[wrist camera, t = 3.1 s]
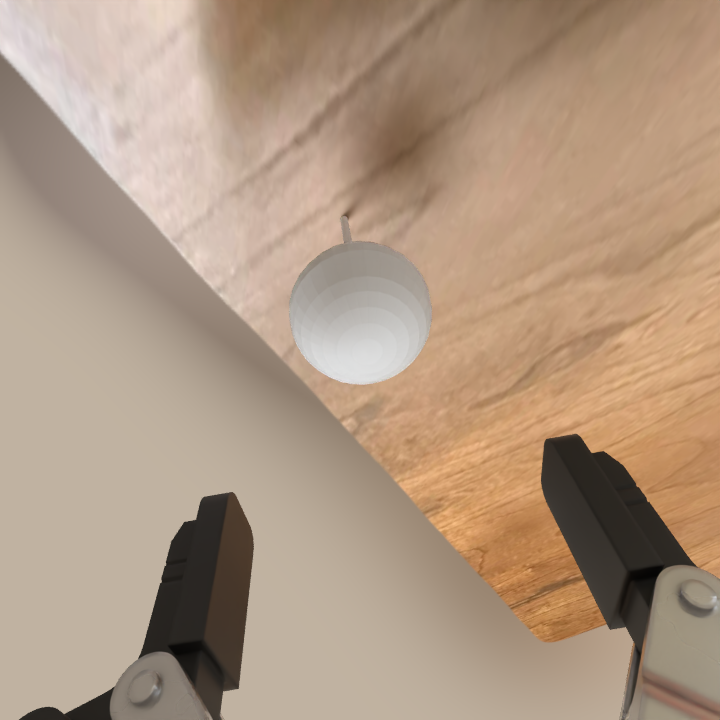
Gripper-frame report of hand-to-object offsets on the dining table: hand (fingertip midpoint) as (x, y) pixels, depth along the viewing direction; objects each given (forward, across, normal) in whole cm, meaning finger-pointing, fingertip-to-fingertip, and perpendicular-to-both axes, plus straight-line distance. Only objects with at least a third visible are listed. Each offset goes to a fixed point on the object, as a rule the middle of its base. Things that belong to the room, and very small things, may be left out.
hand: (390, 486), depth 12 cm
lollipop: (+22, 0, 0) cm, 22 cm away
